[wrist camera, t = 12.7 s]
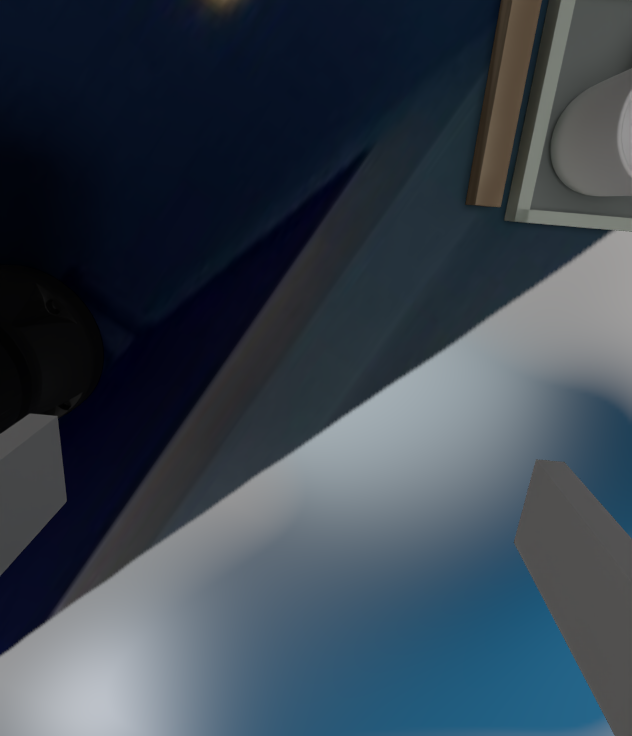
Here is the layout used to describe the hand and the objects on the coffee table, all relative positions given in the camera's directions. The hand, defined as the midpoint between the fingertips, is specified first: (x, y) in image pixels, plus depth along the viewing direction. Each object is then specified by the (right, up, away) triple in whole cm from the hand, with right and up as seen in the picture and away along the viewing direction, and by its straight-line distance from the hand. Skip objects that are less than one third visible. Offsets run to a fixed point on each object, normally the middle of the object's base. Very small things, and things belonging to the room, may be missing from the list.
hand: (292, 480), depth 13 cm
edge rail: (+15, +24, +25) cm, 37 cm away
